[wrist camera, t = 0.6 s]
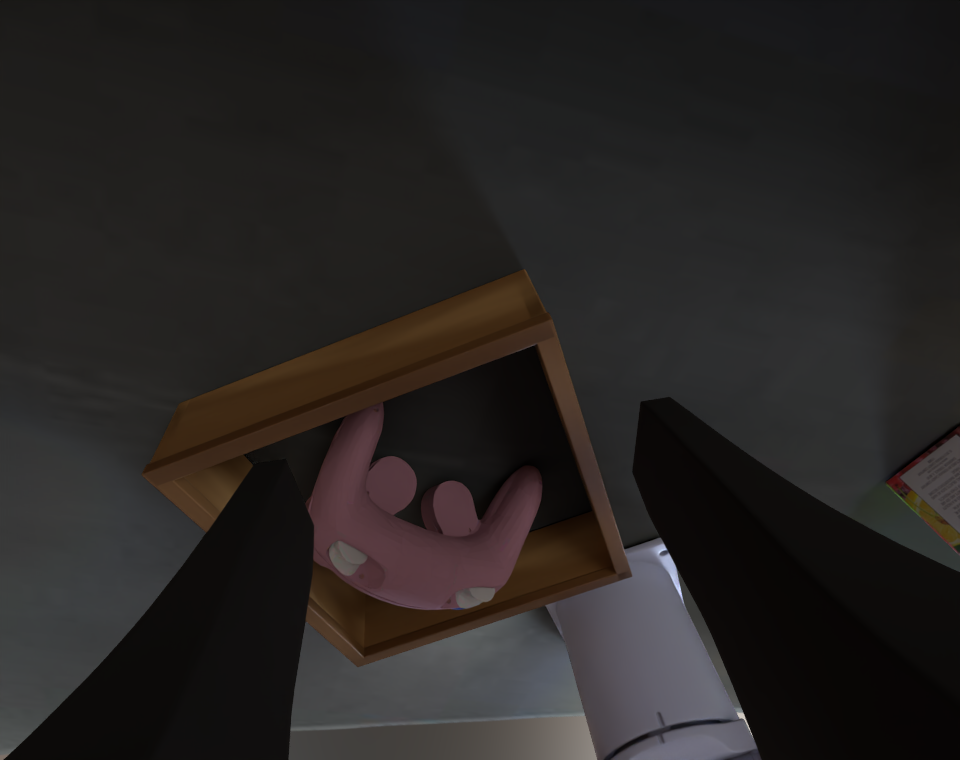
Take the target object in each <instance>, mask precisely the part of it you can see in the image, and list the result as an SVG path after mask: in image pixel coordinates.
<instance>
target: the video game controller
mask: <svg viewBox="0 0 960 760" xmlns="http://www.w3.org/2000/svg"><path fill="white" fill-rule="evenodd" d="M383 418H384V407H383V402H381V403H379V404H376V405H373V406H371V407H368V408H365V409H363V410H360V411H357V412H355V413H352V414H349V415H347V416H345V418H344V419H343V421H342V423H341V424H340V426H339V428H338V430H337V432H336V433H335V435H334V438H333V440H332V442H331V445H330V447H329V449H328V452H327V454H326V456H325V459H324V461H323V463H322V466H321V469H320V472H319V475H318V478H317V480H316V483H315V486H314V489H313V492H312V495H311V497H310V498H309V499H308V500H307V501H306V503H305V505H306V507H307V510H308V512H309V514H310V517H311V519H312V521H313V524H314V555H313V560H314V561H315V562H317V563H318V564H319V565H321V566H324V567H327V568H329V569H330V570H332V571H333V572H334V573H335V574H336V575H337V576H339V577H340V578H341V579H342V580H344V581H345V582H347V583H348V584H350V585H351V586H353V587H354V588H356V589H358V590H359V591H361V592H363V593H365V594H367V595H370V596H372V597H374V598H377V599H379V600H382V601H384V602H387V603H390V604H393V605H397V606H402V607H407V608H414V609H423V610H443V609H453V610H461V609H468V608H471V607H474V606H477V605H479V604H481V603H482V602H488V601H490V600H491V599H492V598H493V596H494V594H495V593H496V592H497V591H498V590H499V589H501V588H502V587H503V586H504V585H505V584H506V582H507V581H508V579H509V577H510V575H511V574H512V571H513V569H514V566H515V564H516V561H517V559H518V556H519V554H520V551H521V549H522V546H523V544H524V542H525V539H526V537H527V535H528V532H529V530H530V528H531V525H532V523H533V521H534V519H535V516H536V514H537V511H538V508H539V505H540V502H541V498H542V478H541V475H540V472H539V470H538V469H537V468H535V467H534V466H530V465H524V466H522V467H521V468H519V469H518V470H517V471H515V472H514V473H513V474H511V476H510V477H509V478H508V479H507V480H506V481H505V482H504V484H503V485H502V486H501V488H500V489H499V491H498V492H497V494H496V495H495V497H494V498H493V500H492V501H491V503H490V505H489V506H488V508H487V510H486V512H485V514H484V515H483V517H482V519H481V520H478V518H477V515H476V512H475V507H474V502H473V498H472V496H471V493H470V491H469V490H468V488H467V487H466V486H464V485H463V484H462V483H460V482H457V481H446V482H443V483H441V484H438V485H436V486H433V487H431V488H429V489H428V490H427V491H426V492H425V494H424V495H423V498H422V501H421V513H422V519H423V522H424V525H425V527H426V529H424V528H421V527H419V526H417V525H414V524H412V523H409V522H407V521H404V520H402V519H399V518H397V517H395V516H393V515H395V514H396V513H397V512H399V511H401V510H403V509H404V508H405V507H406V506H407V505H408V504H409V503H410V502H411V501H412V499H413V497H414V495H415V492H416V487H417V480H416V476H415V473H414V471H413V470H412V468H411V467H410V466H409V464H408V463H406V462H405V461H404V460H402V459H400V458H398V457H395V456H387V457H384V458H381V459H379V460H377V461H375V462H373V463H371V460H372V457H373V454H374V451H375V449H376V446H377V443H378V440H379V437H380V435H381V432H382V427H383ZM370 463H371V464H370Z"/></svg>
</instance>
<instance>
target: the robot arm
mask: <svg viewBox="0 0 960 760" xmlns="http://www.w3.org/2000/svg"><path fill="white" fill-rule="evenodd" d="M632 472H633V475H634V477H635V480H636V483H637V485H638V488H639V491H640V494H641V496H642V499H643V501H644V504H645V506H646V509H647V511H648V514H649V516H650V518H651V520H652V522H653V524H654V526H655V528H656V530H657V532H658V533H659V535H660V537H661V538H657V539H654V540H651V541H648V542H645V543H642V544H639V545H636V546H633V547H630V548H627V549H624V550H625V554H626V557H627V560H628V563H629V566H630V569H631V573H632V577H630V578H627V579H624V580H621V581H618V582H615V583H612V584H609V585H606V586H603V587H600V588H597V589H594V590H591V591H588V592H584V593H581V594H578V595H575V596H572V597H569V598H566V599H563V600H560V601H557V602H554V603H551V604H548V605H545V606H546V608H547V610H548V612H549V613H550V615H551V617H552V619H553V621H554V623H555V625H556V627H557V628H558V630H559V632H560V634H561V636H562V638H563V640H564V641H565V643H566V647H567V651H568V654H569V658H570V662H571V665H572V669H573V673H574V676H575V680H576V683H577V687H578V691H579V694H580V698H581V702H582V705H583V709H584V713H585V716H586V719H587V723H588V727H589V731H590V734H591V738H592V742H593V745H594V748H595V753H596V756H597V760H960V572H958V571H956V570H953V569H951V568H949V567H947V566H945V565H942V564H940V563H938V562H936V561H934V560H932V559H930V558H928V557H926V556H924V555H921V554H919V553H917V552H915V551H913V550H911V549H909V548H907V547H905V546H902V545H900V544H898V543H897V542H895V541H893V540H891V539H889V538H887V537H885V536H883V535H881V534H879V533H877V532H875V531H873V530H871V529H869V528H868V527H866V526H864V525H862V524H860V523H858V522H857V521H855V520H853V519H851V518H849V517H848V516H846V515H844V514H842V513H840V512H838V511H837V510H835V509H833V508H831V507H830V506H828V505H826V504H825V503H823V502H821V501H819V500H818V499H816V498H814V497H813V496H811V495H810V494H808V493H806V492H805V491H803V490H802V489H800V488H798V487H797V486H795V485H794V484H792V483H790V482H789V481H787V480H786V479H784V478H783V477H781V476H779V475H778V474H776V473H775V472H773V471H772V470H770V469H769V468H767V467H766V466H764V465H763V464H762V463H760V462H759V461H757V460H756V459H754V458H753V457H751V456H750V455H748V454H747V453H746V452H744V451H743V450H741V449H740V448H739V447H737V446H736V445H734V444H733V443H732V442H730V441H729V440H727V439H726V438H725V437H723V436H722V435H721V434H719V433H718V432H716V431H715V430H714V429H712V428H711V427H710V426H708V425H707V424H706V423H704V422H703V421H702V420H700V419H699V418H698V417H696V416H695V415H694V414H692V413H691V412H690V411H688V410H687V409H685V408H684V407H683V406H681V405H680V404H679V403H677V402H676V401H674V400H673V399H672V398H670V397H667V398H661V399H654V400H648V401H642V402H641V404H640V412H639V421H638V429H637V437H636V446H635V454H634V463H633V471H632ZM313 555H314V524H313V521H312V519H311V517H310V514H309V512H308V510H307V507H306V505H305V503H304V500H303V498H302V496H301V493H300V491H299V489H298V486H297V484H296V481H295V479H294V477H293V474H292V472H291V470H290V467H289V465H288V463H287V460H286V459H282V460H276V461H270V462H263V463H257V464H254V465H253V467H252V468H251V469H250V471H249V472H248V474H247V475H246V476H245V478H244V479H243V481H242V482H241V484H240V485H239V487H238V488H237V489H236V491H235V492H234V494H233V495H232V497H231V498H230V500H229V501H228V503H227V504H226V506H225V507H224V508H223V510H222V511H221V513H220V514H219V516H218V517H217V519H216V520H215V521H214V523H213V524H212V526H211V527H210V529H209V530H208V531H207V533H206V534H205V535H204V537H203V538H202V540H201V541H200V542H199V544H198V545H197V546H196V548H195V549H194V551H193V552H192V553H191V555H190V556H189V558H188V559H187V560H186V562H185V563H184V564H183V566H182V567H181V568H180V570H179V571H178V572H177V573H176V575H175V576H174V577H173V578H172V580H171V581H170V582H169V584H168V585H167V586H166V587H165V589H164V590H163V591H162V592H161V594H160V595H159V596H158V597H157V599H156V600H155V601H154V603H153V604H152V605H151V606H150V608H149V609H148V610H147V611H146V612H145V614H144V615H143V616H142V617H141V618H140V620H139V621H138V622H137V623H136V624H135V626H134V627H133V628H132V629H131V630H130V631H129V633H128V634H127V635H126V636H125V637H124V638H123V639H122V641H121V642H120V643H119V644H118V645H117V646H116V647H115V648H114V649H113V651H112V652H111V653H110V654H109V655H108V656H107V657H106V658H105V659H104V660H103V662H102V663H101V664H100V665H99V666H98V667H97V668H96V669H95V670H94V671H93V672H92V673H91V674H90V675H89V677H88V678H87V679H86V680H85V681H84V682H83V683H82V684H81V685H80V686H79V687H78V688H77V689H76V690H75V691H74V692H73V693H72V694H71V695H70V696H69V697H68V698H67V699H66V700H65V701H64V702H63V703H62V704H61V705H60V706H59V707H58V708H57V709H56V710H55V711H54V712H53V713H52V714H51V715H50V716H49V717H48V718H47V719H46V720H45V721H44V722H43V723H42V724H41V725H40V726H39V727H38V728H37V729H36V730H35V731H34V732H33V733H32V734H31V735H30V736H28V737H27V738H26V739H25V740H24V741H23V742H22V743H21V744H20V745H19V746H18V747H17V748H16V749H15V750H14V751H12V752H11V753H10V754H9V755H8V756H7V757H6V758H5V759H4V760H288V755H289V741H290V726H291V713H292V704H293V696H294V688H295V682H296V676H297V669H298V663H299V657H300V651H301V645H302V639H303V633H304V626H305V620H306V614H307V608H308V601H309V595H310V588H311V582H312V575H313ZM676 567H677V569H678V571H679V573H680V575H681V577H682V578H683V580H684V582H685V584H686V586H687V588H688V590H689V591H690V593H691V595H692V597H693V599H694V601H695V603H696V604H697V606H698V608H699V610H700V612H701V614H702V616H703V618H704V620H705V622H706V624H707V626H708V628H709V630H710V633H711V635H712V637H713V639H714V642H715V644H716V647H717V649H718V651H719V654H720V656H721V658H722V661H723V663H724V666H725V668H726V670H727V673H728V675H729V678H730V680H731V682H732V685H733V687H734V690H735V692H736V695H737V697H738V700H739V702H740V705H741V708H742V710H743V713H744V715H745V718H746V720H747V723H748V725H749V728H750V730H751V733H752V735H753V737H752V735H751V733H750V731H749V729H748V727H747V725H746V723H745V721H744V719H739V717H738V715H737V713H736V711H735V709H734V707H733V704H732V702H731V700H730V698H729V696H728V694H727V692H726V690H725V688H724V686H723V684H722V682H721V680H720V678H719V676H718V673H717V671H716V669H715V667H714V665H713V663H712V661H711V659H710V657H709V655H708V653H707V651H706V649H705V647H704V645H703V643H702V640H701V638H700V636H699V634H698V632H697V630H696V628H695V626H694V624H693V622H692V620H691V618H690V616H689V614H688V612H687V609H686V607H685V605H684V603H683V598H682V593H681V589H680V584H679V579H678V575H677V570H676ZM753 738H754V739H753Z"/></svg>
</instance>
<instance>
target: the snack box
mask: <svg viewBox="0 0 960 760" xmlns="http://www.w3.org/2000/svg"><path fill="white" fill-rule="evenodd" d="M886 485H887V486H888V487H889V488H890V489H892V490H893V491H894V492H895V493H896V494H897V495H898V496H899V497H900V498H901V499H902V500H903V501H904V502H905V503H906V504H907V505H908V506H909V507H910V508H911V509H912V510H913V511H915V512H916V513H917V514H918V515H919V516H920V517H921V518H922V519H923V520H924V521H925V522H926V523H927V524H928V525H929V526H930V527H931V528H932V529H933V530H934V531H935V532H936V533H937V534H938V535H939V536H940V537H941V538H942V539H944V540H945V541H946V542H947V543H948V544H949V545H950V546H951V547H952V548H953V549H954V550H955V551H956V552H957V553H958V554H959V555H960V425H959V426H958V427H957V428H956V429H955V430H954V431H953V432H951V433H950V434H949V435H947V436H946V437H945V438H943V439H942V440H941V441H939V442H938V443H937V444H935V445H934V446H933V447H931V448H930V449H929V450H927V451H926V452H925V453H923V454H922V455H921V456H920V457H918V458H917V459H916V460H915V461H913V462H912V463H910V464H909V465H908V466H907V467H905V468H904V469H903V470H901V471H900V472H898V473H897V474H896V475H895V476H893V477H892V478H891V479H889V480H888V481H886Z"/></svg>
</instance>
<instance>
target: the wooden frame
mask: <svg viewBox="0 0 960 760" xmlns="http://www.w3.org/2000/svg"><path fill="white" fill-rule="evenodd" d="M533 345H534V346H535V349H536V351H537V354H538V357H539V360H540V363H541V366H542V369H543V371H544V374H545V377H546V380H547V383H548V386H549V389H550V391H551V394H552V397H553V400H554V403H555V406H556V409H557V411H558V414H559V417H560V420H561V423H562V426H563V429H564V431H565V434H566V437H567V440H568V443H569V446H570V449H571V451H572V454H573V457H574V460H575V463H576V466H577V468H578V471H579V474H580V477H581V480H582V483H583V486H584V488H585V491H586V494H587V497H588V500H589V503H590V506H591V508H592V511H590V512H587V513H585V514H582V515H579V516H576V517H573V518H570V519H567V520H564V521H561V522H558V523H555V524H552V525H550V526H547V527H544V528H541V529H538V530H535V531H532V532H529V533H528V535H527V537H526V539H525V542H524V544H523V546H522V549H521V551H520V554H519V556H518V559H517V561H516V564H515V566H514V569H513V571H512V574H511V575H510V577H509V579H508V581H507V582H506V584H505V585H504V586H503V587H502V588H501V589H499V590H498V591H497V592H496V593H495V594H494V596H493V598H492V599H491V600H490V601H488V602H482V603H481V604H479V605H477V606H474V607H471V608H468V609H461V610H453V609H443V610H423V609H414V608H407V607H402V606H397V605H393V604H390V603H387V602H384V601H382V600H379V599H377V598H374V597H372V596H370V595H367V594H365V593H363V592H361V591H359V590H358V589H356V588H354V587H353V586H351V585H350V584H348V583H347V582H345V581H344V580H342V579H341V578H340V577H339V576H337V575H336V574H335V573H334V572H333V571H332V570H330V569H329V568H327V567H324V566H321V565H319V564H318V563H317V562H315V561H314V560H313V575H312V582H311V588H310V595H309V601H308V608H307V614H306V620H305V621H306V622H308V623H309V624H310V625H311V626H312V627H313V628H314V629H315V630H317V631H318V632H319V633H320V634H321V635H322V636H323V637H324V638H326V639H327V640H328V641H329V642H330V643H331V644H332V645H333V646H335V647H336V648H337V649H338V650H339V651H340V652H341V653H342V654H344V655H345V656H346V657H347V658H348V659H349V660H350V661H351V662H353V663H354V664H355V665H356V666H357V667H360V666H363V665H366V664H369V663H372V662H375V661H378V660H381V659H384V658H387V657H390V656H393V655H396V654H399V653H402V652H405V651H408V650H411V649H414V648H417V647H420V646H423V645H426V644H429V643H432V642H435V641H439V640H442V639H445V638H448V637H451V636H454V635H457V634H460V633H463V632H466V631H469V630H472V629H475V628H478V627H481V626H484V625H487V624H490V623H493V622H496V621H499V620H502V619H505V618H508V617H511V616H515V615H518V614H521V613H524V612H527V611H530V610H533V609H536V608H539V607H542V606H545V605H548V604H551V603H554V602H557V601H560V600H563V599H566V598H569V597H572V596H575V595H578V594H581V593H584V592H588V591H591V590H594V589H597V588H600V587H603V586H606V585H609V584H612V583H615V582H618V581H621V580H624V579H627V578H630V577H632V573H631V569H630V566H629V563H628V560H627V557H626V554H625V550H624V547H623V544H622V541H621V538H620V534H619V531H618V528H617V525H616V522H615V518H614V515H613V512H612V509H611V506H610V502H609V499H608V496H607V493H606V490H605V486H604V483H603V480H602V477H601V474H600V470H599V467H598V464H597V461H596V458H595V454H594V451H593V448H592V445H591V442H590V438H589V435H588V432H587V429H586V426H585V423H584V419H583V416H582V413H581V410H580V407H579V403H578V400H577V397H576V394H575V391H574V387H573V384H572V381H571V378H570V375H569V371H568V368H567V365H566V362H565V359H564V355H563V352H562V349H561V346H560V343H559V339H558V336H557V333H556V330H555V327H554V323H553V320H552V318H551V316H550V314H549V313H548V312H546V310H545V308H544V306H543V304H542V302H541V300H540V298H539V296H538V294H537V292H536V290H535V288H534V286H533V284H532V282H531V280H530V278H529V276H528V274H527V272H526V270H525V269H523V270H521V271H518V272H515V273H513V274H510V275H508V276H505V277H503V278H500V279H498V280H495V281H492V282H490V283H487V284H485V285H482V286H480V287H477V288H474V289H472V290H469V291H467V292H464V293H462V294H459V295H456V296H454V297H451V298H449V299H446V300H444V301H441V302H438V303H436V304H433V305H431V306H428V307H426V308H423V309H421V310H418V311H415V312H413V313H410V314H408V315H405V316H403V317H400V318H397V319H395V320H392V321H390V322H387V323H385V324H382V325H379V326H377V327H374V328H372V329H369V330H367V331H364V332H362V333H359V334H356V335H354V336H351V337H349V338H346V339H344V340H341V341H338V342H336V343H333V344H331V345H328V346H326V347H323V348H320V349H318V350H315V351H313V352H310V353H308V354H305V355H303V356H300V357H297V358H295V359H292V360H290V361H287V362H285V363H282V364H279V365H277V366H274V367H272V368H269V369H267V370H264V371H261V372H259V373H256V374H254V375H251V376H249V377H246V378H244V379H241V380H238V381H236V382H233V383H231V384H228V385H226V386H223V387H220V388H218V389H215V390H213V391H210V392H208V393H205V394H202V395H200V396H197V397H195V398H192V399H189V400H187V401H184V402H182V403H180V404H179V405H178V407H177V409H176V411H175V413H174V415H173V417H172V419H171V421H170V423H169V425H168V427H167V429H166V431H165V433H164V436H163V438H162V440H161V442H160V444H159V446H158V448H157V450H156V452H155V454H154V456H153V458H152V460H151V462H150V464H147V465H146V467H145V469H144V471H143V473H142V476H143V477H144V478H145V479H146V480H148V481H149V482H150V483H151V484H152V485H153V486H154V487H156V488H157V489H158V490H159V491H160V492H161V493H162V494H163V495H165V496H166V497H167V498H168V499H169V500H170V501H171V502H172V503H174V504H175V505H176V506H177V507H178V508H179V509H180V510H181V511H183V512H184V513H185V514H186V515H187V516H188V517H189V518H190V519H192V520H193V521H194V522H195V523H196V524H197V525H198V526H199V527H201V528H202V529H203V530H204V531H205V532H206V533H207V531H208V530H209V529H210V527H211V526H212V524H213V523H214V521H215V520H216V519H217V517H218V516H219V514H220V513H221V511H222V510H223V508H224V507H225V506H226V504H227V503H228V501H229V500H230V498H231V497H232V495H233V494H234V492H235V491H236V489H237V488H238V487H239V485H240V484H241V482H242V481H243V479H244V478H245V476H246V475H247V474H248V472H249V471H250V469H251V468H252V467H253V465H252V463H251V462H250V461H249V460H248V459H247V458H246V457H245V456H244V455H243V454H246V453H248V452H251V451H254V450H256V449H259V448H262V447H264V446H267V445H270V444H272V443H275V442H278V441H280V440H283V439H286V438H288V437H291V436H294V435H296V434H299V433H302V432H304V431H307V430H310V429H312V428H315V427H318V426H320V425H323V424H326V423H328V422H331V421H334V420H336V419H339V418H341V417H344V416H347V415H349V414H352V413H355V412H357V411H360V410H363V409H365V408H368V407H371V406H373V405H376V404H379V403H381V402H384V401H387V400H389V399H392V398H395V397H397V396H400V395H403V394H405V393H408V392H411V391H413V390H416V389H419V388H421V387H424V386H427V385H429V384H432V383H435V382H437V381H440V380H443V379H445V378H448V377H451V376H453V375H456V374H459V373H461V372H464V371H467V370H469V369H472V368H475V367H477V366H480V365H483V364H485V363H488V362H491V361H493V360H496V359H499V358H501V357H504V356H507V355H509V354H512V353H515V352H517V351H520V350H523V349H525V348H528V347H531V346H533Z"/></svg>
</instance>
